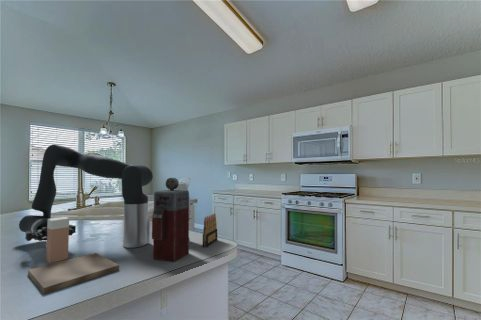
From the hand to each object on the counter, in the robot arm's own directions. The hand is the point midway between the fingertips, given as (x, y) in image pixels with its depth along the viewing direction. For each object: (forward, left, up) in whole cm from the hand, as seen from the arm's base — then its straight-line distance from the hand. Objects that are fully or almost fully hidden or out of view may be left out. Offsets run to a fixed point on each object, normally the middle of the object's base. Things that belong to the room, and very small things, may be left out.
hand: (56, 235), depth 82 cm
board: (0, +20, -8) cm, 21 cm away
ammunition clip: (-45, +32, -8) cm, 56 cm away
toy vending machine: (-25, +32, -8) cm, 41 cm away
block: (0, +2, -8) cm, 8 cm away
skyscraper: (-39, +20, -9) cm, 44 cm away
